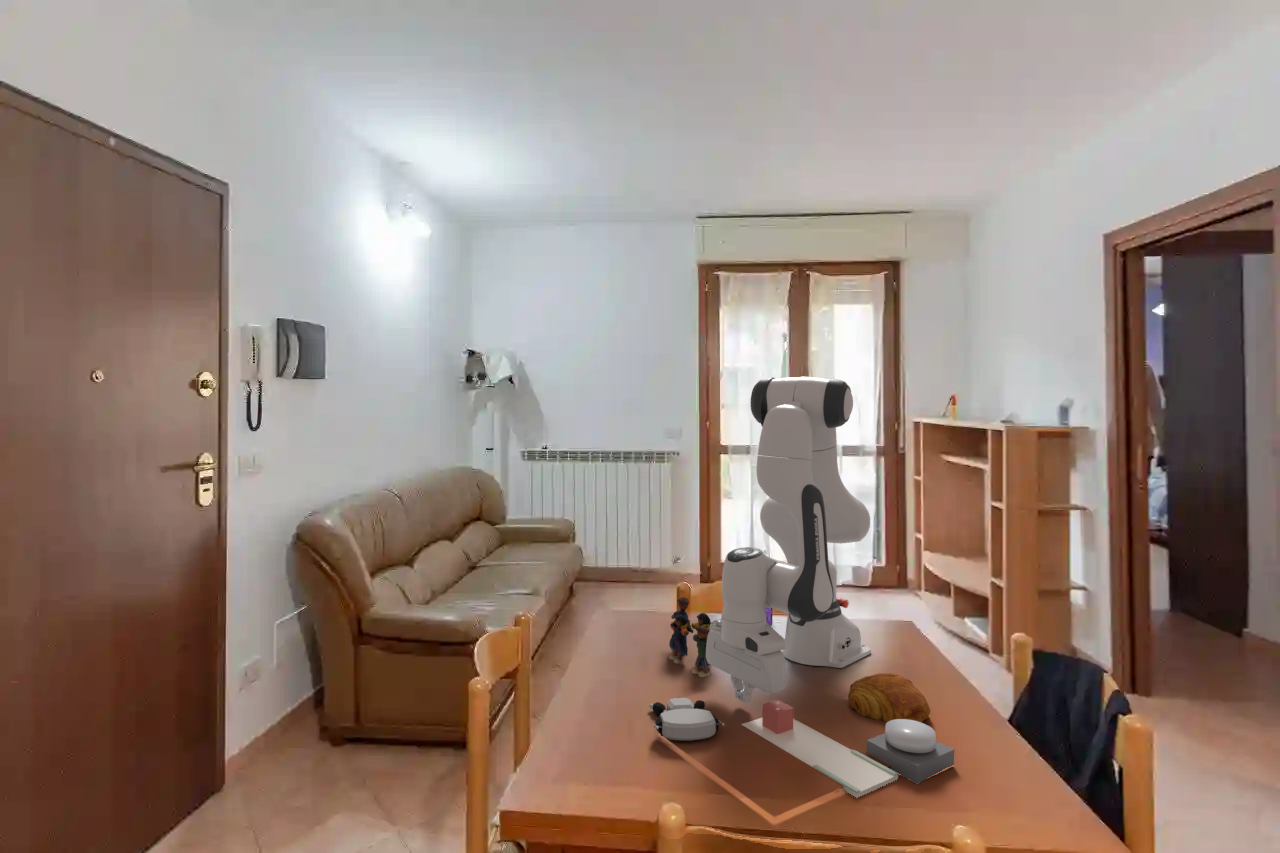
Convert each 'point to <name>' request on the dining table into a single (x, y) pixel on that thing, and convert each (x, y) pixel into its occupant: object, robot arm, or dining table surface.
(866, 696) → the croissant
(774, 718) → the red die
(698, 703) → the robot toy
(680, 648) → the doll family
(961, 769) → the dining table surface
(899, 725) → the dome plunger
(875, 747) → the base
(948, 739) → the dining table surface
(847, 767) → the board
